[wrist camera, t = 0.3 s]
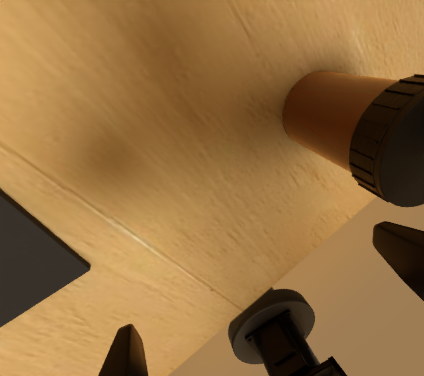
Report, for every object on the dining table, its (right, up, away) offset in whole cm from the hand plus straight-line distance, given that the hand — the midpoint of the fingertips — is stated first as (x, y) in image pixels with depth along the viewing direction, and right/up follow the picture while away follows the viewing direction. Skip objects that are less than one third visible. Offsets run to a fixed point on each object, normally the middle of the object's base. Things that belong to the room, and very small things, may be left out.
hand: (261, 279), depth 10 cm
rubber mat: (-19, -3, +12) cm, 22 cm away
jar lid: (+10, +5, +5) cm, 12 cm away
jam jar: (+7, +10, +14) cm, 18 cm away
